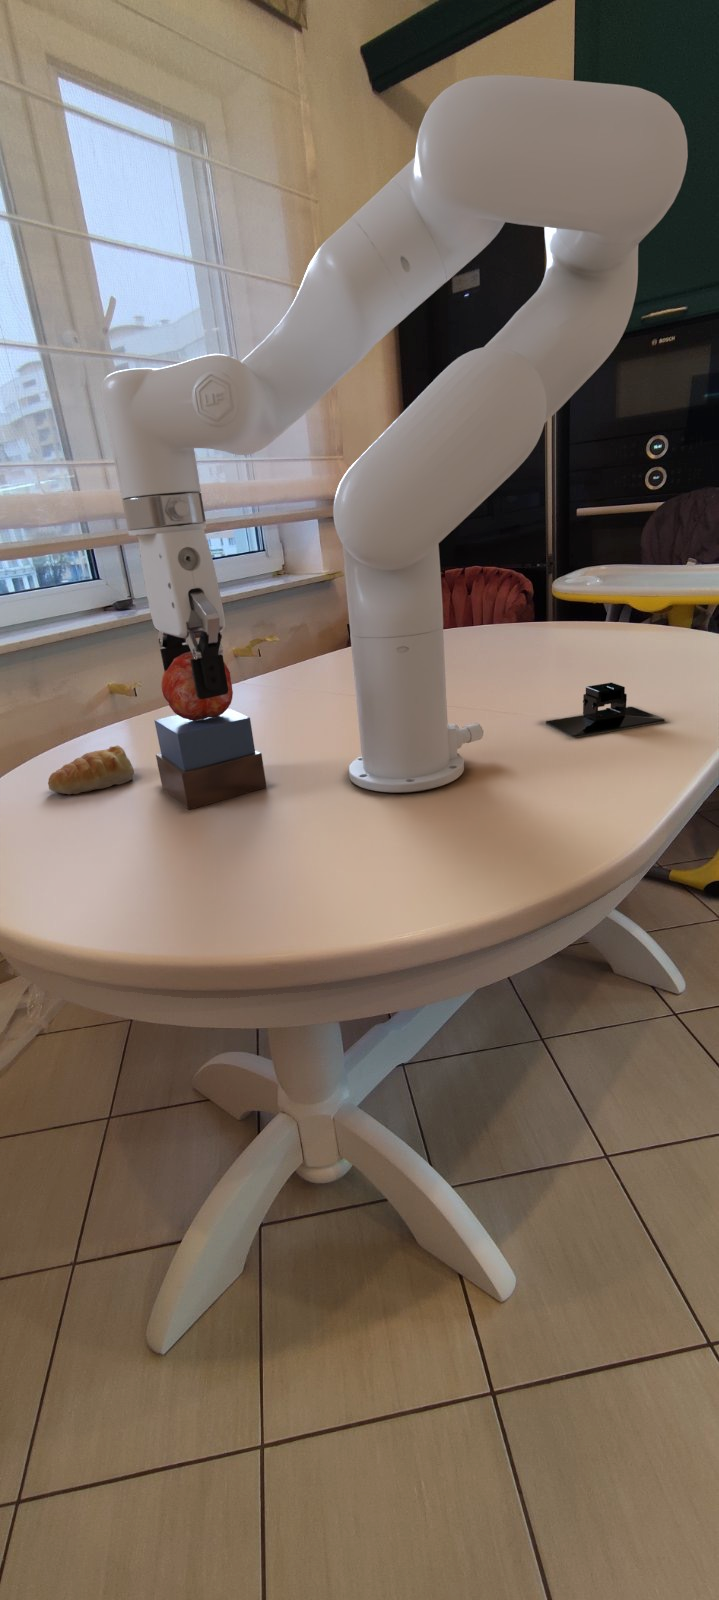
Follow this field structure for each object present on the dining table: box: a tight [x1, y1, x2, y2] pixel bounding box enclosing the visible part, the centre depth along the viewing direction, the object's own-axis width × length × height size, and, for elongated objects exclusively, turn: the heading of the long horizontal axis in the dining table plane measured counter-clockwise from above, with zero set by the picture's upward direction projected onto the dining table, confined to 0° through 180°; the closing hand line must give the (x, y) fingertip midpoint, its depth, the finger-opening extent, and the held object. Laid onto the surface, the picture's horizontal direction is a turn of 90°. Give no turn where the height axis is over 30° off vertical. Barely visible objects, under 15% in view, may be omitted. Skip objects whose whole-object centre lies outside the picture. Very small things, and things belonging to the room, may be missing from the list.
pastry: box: [47, 745, 135, 796], centre depth 85 cm, size 9×7×4 cm
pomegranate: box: [160, 652, 234, 721], centre depth 77 cm, size 7×7×10 cm
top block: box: [154, 707, 256, 771], centre depth 79 cm, size 8×8×4 cm
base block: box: [155, 749, 267, 810], centre depth 80 cm, size 9×9×4 cm
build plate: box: [545, 682, 666, 738], centre depth 89 cm, size 12×7×5 cm, turn 105°
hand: (196, 689), depth 77 cm, fingers open, 9 cm apart
